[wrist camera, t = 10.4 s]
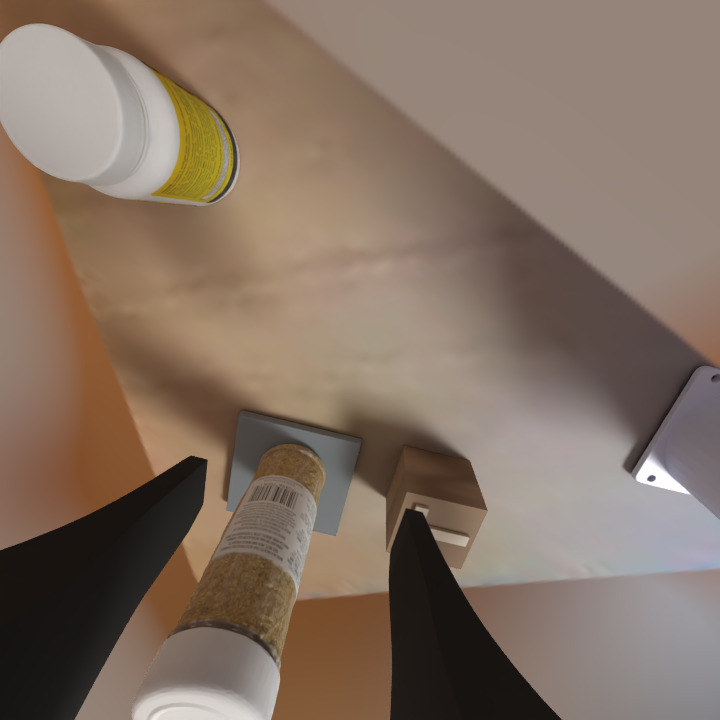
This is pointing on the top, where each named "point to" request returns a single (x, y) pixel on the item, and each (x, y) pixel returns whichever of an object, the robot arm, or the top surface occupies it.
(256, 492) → the sprinkles bottle
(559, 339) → the top surface
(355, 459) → the grey mat
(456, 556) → the walnut block
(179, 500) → the robot arm
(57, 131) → the supplement bottle
